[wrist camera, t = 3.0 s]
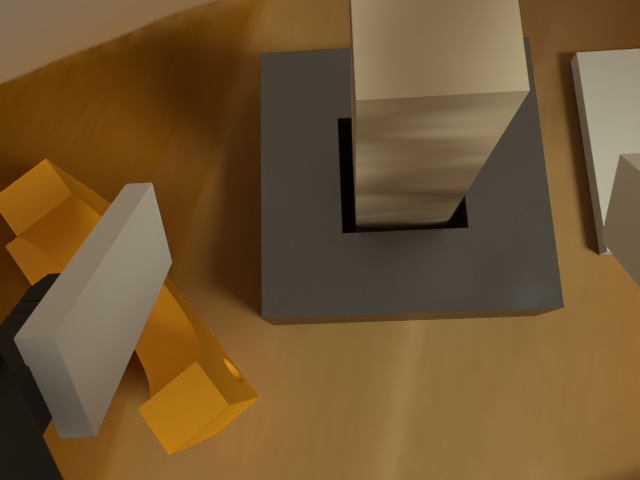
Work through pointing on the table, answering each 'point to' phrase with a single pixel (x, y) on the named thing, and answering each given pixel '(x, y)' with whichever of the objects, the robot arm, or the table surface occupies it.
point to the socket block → (393, 246)
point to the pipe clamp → (161, 326)
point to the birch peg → (428, 103)
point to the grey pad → (607, 119)
